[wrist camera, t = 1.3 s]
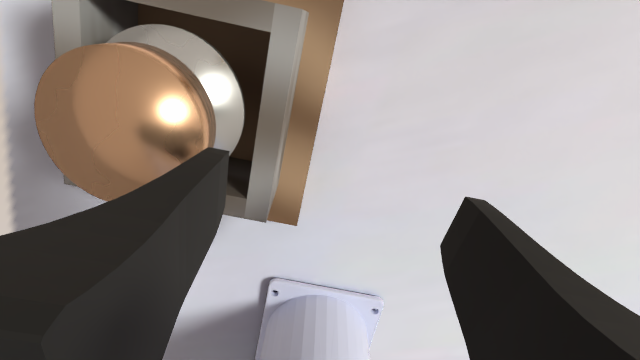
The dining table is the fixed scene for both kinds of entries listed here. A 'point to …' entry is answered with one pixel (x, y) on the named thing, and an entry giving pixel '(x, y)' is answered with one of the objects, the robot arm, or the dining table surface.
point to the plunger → (136, 108)
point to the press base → (241, 80)
